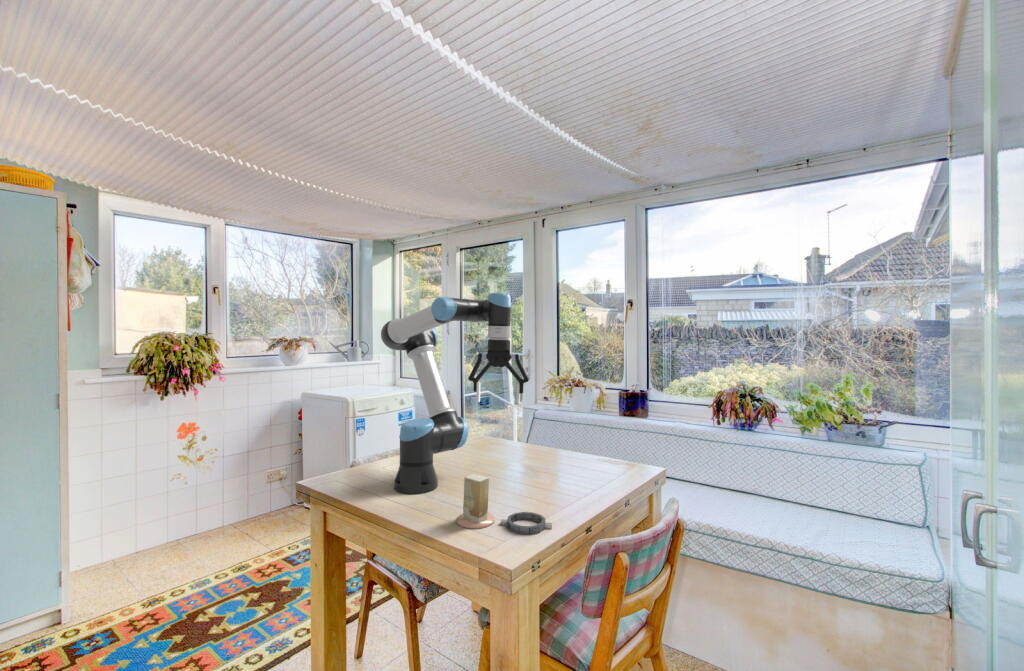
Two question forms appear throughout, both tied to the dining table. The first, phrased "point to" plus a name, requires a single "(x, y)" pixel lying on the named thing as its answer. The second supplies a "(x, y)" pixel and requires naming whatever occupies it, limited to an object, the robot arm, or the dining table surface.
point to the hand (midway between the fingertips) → (498, 402)
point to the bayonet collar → (526, 529)
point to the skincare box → (475, 498)
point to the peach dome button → (474, 525)
